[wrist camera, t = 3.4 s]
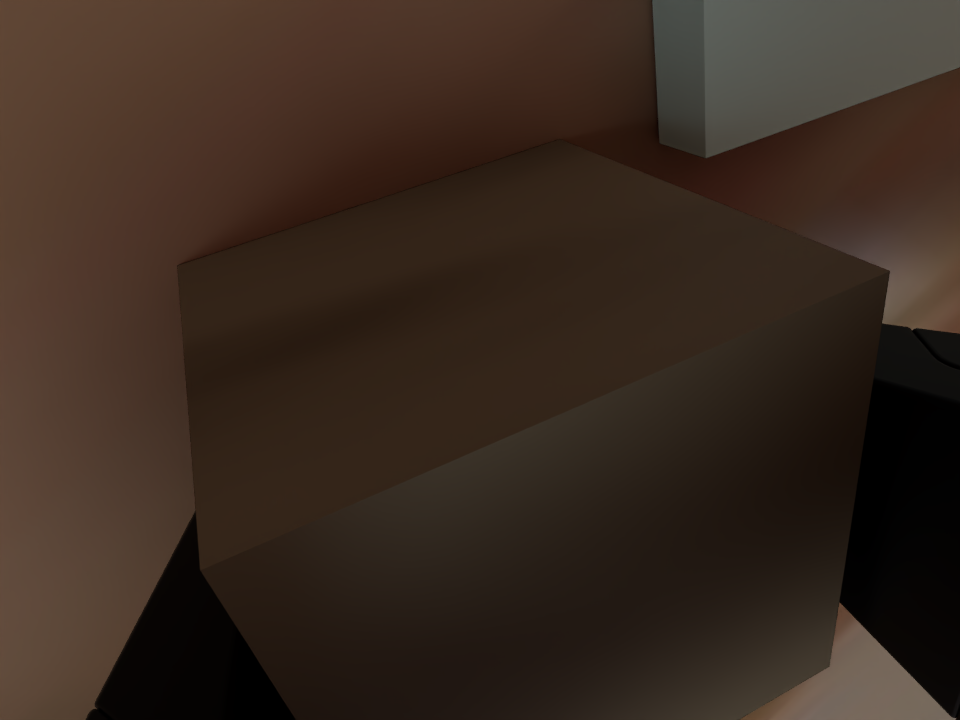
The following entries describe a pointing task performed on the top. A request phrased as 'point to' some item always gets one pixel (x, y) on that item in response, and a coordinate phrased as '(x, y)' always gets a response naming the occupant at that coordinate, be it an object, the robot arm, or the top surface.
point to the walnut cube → (530, 447)
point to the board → (787, 62)
